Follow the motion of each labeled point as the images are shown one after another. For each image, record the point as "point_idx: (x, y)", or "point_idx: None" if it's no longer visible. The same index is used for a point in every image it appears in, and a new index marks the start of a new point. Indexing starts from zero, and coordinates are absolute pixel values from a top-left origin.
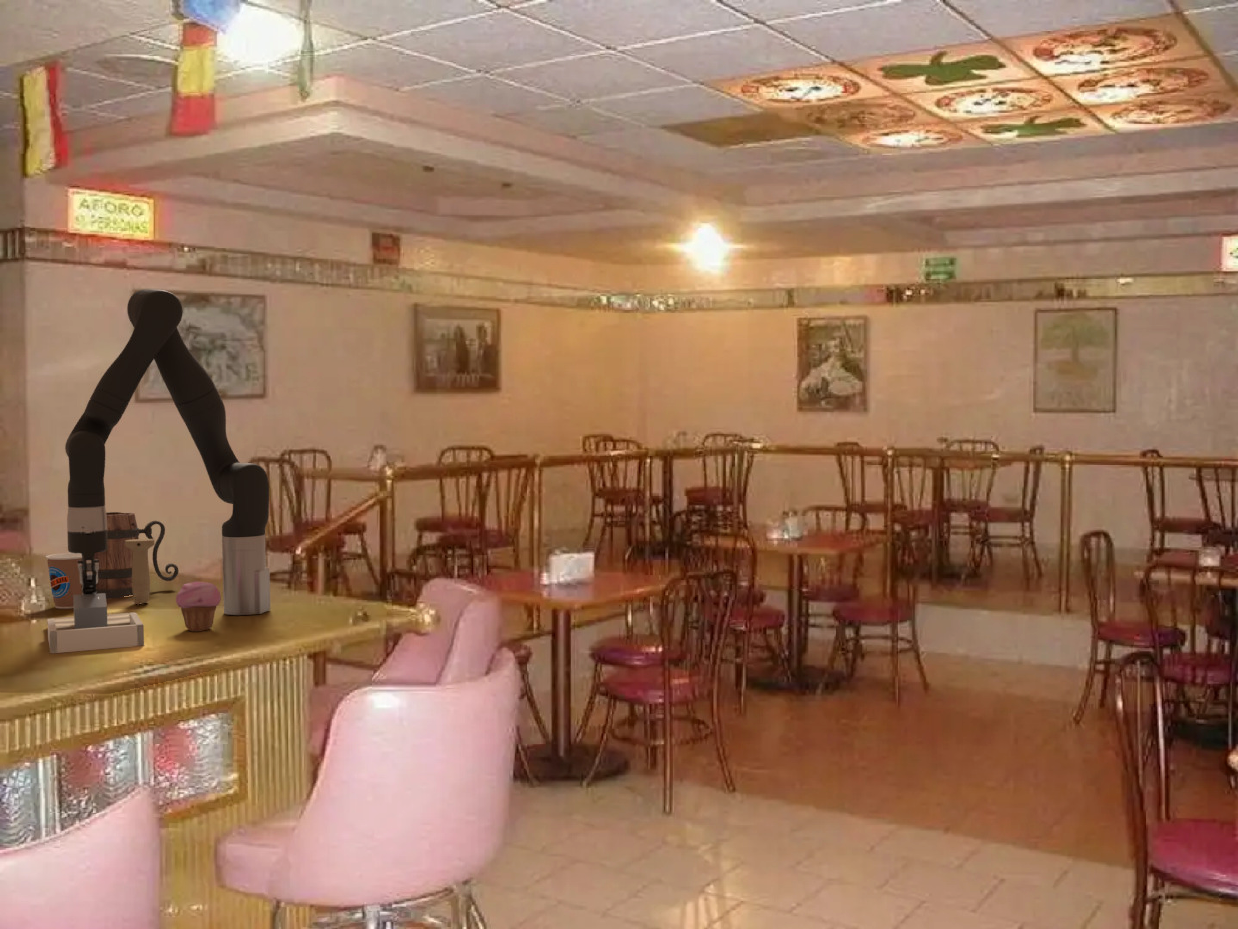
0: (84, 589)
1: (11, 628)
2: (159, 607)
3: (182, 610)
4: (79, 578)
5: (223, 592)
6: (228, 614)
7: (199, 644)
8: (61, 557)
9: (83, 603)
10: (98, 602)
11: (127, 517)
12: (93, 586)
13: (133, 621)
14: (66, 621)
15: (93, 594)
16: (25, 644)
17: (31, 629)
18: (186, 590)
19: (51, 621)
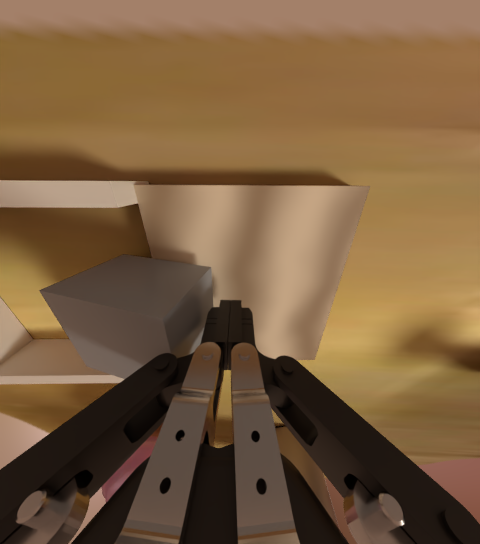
0: (133, 377)
1: (464, 40)
2: (433, 382)
3: None
4: (272, 418)
5: (299, 467)
6: (275, 428)
7: (41, 394)
8: None
9: (89, 326)
10: (109, 361)
11: None
12: (141, 412)
13: (63, 371)
14: (267, 242)
15: None
16: (58, 99)
17: (372, 131)
18: (109, 491)
19: (34, 195)
